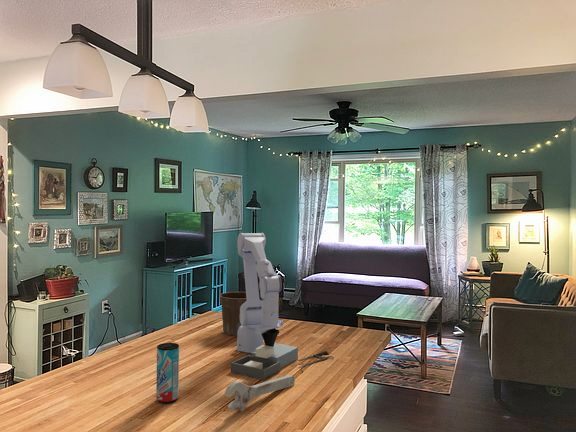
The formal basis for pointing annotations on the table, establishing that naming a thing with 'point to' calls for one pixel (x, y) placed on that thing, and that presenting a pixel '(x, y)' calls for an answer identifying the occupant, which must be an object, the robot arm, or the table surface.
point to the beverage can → (167, 372)
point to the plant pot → (232, 311)
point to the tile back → (264, 351)
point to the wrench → (255, 390)
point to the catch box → (264, 373)
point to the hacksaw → (316, 360)
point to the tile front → (254, 364)
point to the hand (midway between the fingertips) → (269, 351)
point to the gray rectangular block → (283, 354)
